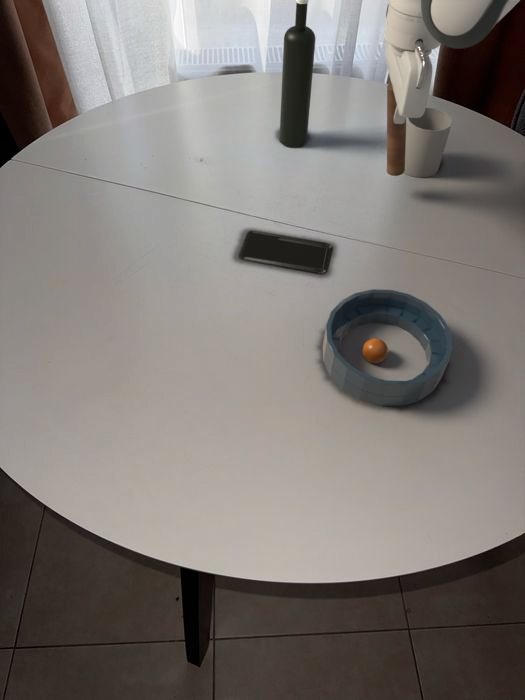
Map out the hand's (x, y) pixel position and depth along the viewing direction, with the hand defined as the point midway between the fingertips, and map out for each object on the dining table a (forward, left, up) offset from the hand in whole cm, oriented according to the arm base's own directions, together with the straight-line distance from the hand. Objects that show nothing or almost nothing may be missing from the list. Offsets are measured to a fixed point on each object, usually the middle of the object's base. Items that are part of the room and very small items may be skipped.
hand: (396, 114), depth 97 cm
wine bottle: (+16, -19, -17) cm, 30 cm away
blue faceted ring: (+4, +39, -17) cm, 43 cm away
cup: (-9, -11, -17) cm, 22 cm away
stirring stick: (-2, 0, -11) cm, 11 cm away
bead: (+5, +39, -15) cm, 42 cm away
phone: (+18, +17, -17) cm, 30 cm away
